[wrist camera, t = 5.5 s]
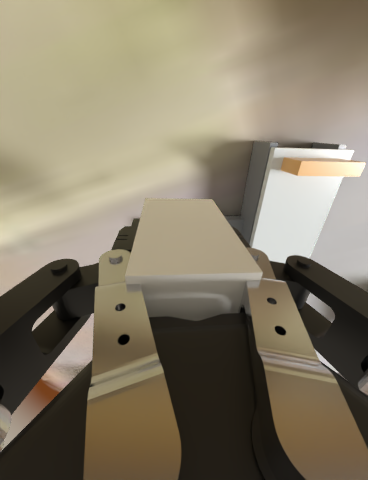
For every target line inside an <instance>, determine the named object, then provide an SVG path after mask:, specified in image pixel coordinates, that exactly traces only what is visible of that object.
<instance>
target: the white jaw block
mask: <svg viewBox="0 0 368 480" xmlns="http://www.w3.org/2000/svg"><path fill="white" fill-rule="evenodd" d="M262 274H263V272H262V270H261V269H260V267H259V266H258V265H257V263H256V262H255V260H254V259H253V257H252V256H251V254H250V253H249V252H248V250H247V249H246V247H245V246H244V244H243V243H242V241H241V240H240V239H239V237H238V236H237V234H236V233H235V231H234V230H233V228H232V227H231V226H230V224H229V223H228V221H227V220H226V218H225V217H224V216H223V214H222V213H221V211H220V210H219V208H218V207H217V205H216V204H215V203H214V201H213V200H212V199H148V198H145V202H144V206H143V210H142V213H141V217H140V221H139V225H138V228H137V232H136V236H135V240H134V243H133V247H132V251H131V255H130V259H129V262H128V266H127V270H126V274H125V281H126V284H140V285H141V289H142V293H143V297H144V301H145V305H146V309H147V313H148V317H163V316H169V317H175V318H181V319H187V320H192V321H199V320H203V319H206V318H210V317H213V316H217V315H220V314H227V313H238V310H239V307H240V303H241V299H242V295H243V291H244V287H245V283H246V281H249V280H261V277H262Z"/></svg>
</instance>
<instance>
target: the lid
mask: <svg viewBox="0 0 368 480" xmlns="http://www.w3.org/2000/svg"><path fill="white" fill-rule="evenodd" d="M353 152H354V150H347V149H313V148H280V147H271V150H270V154H269V159H268V163H267V168H266V172H265V177H264V181H263V186H262V190H261V195H260V199H259V204H258V208H257V213H256V217H255V221H254V226H253V230H252V235H251V239H250V244H249V245H250V247H251V248H255V249H258V250H261V251H262V252H264V253H265V254H266V255H267V256H268V258H269V261H274V262H280V263H285V262H286V259H287V257H289V256H292V255H299V256H303V257H307V258H309V259H310V256H311V254H312V251H313V249H314V247H315V244H316V242H317V239H318V237H319V234H320V232H321V230H322V227H323V225H324V222H325V220H326V217H327V215H328V213H329V210H330V208H331V205H332V203H333V200H334V198H335V196H336V193H337V191H338V188H339V186H340V184H341V181H342V179H343V177H360V175H361V173H362V171H363V168H364V166H365V164H366V162H359V161H353V160H350V159H351V157H352V154H353Z"/></svg>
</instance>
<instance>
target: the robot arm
mask: <svg viewBox="0 0 368 480" xmlns="http://www.w3.org/2000/svg"><path fill="white" fill-rule="evenodd" d="M139 221H140V219H134V220H133V223H132V226H125V227H124V228H122V229H121V230H120V231H119V233H118V236H117V238H116V240H115V242H114V245H113V247H112V249H111V251H108V252H106V253H104V254H103V255H101V257H100V258H99V263H96V264H93V265H89V266H84V267H79V264H78V262H77V261H76V260H73V259H61V260H56V261H53V262H51V263H49V264H47V265H45V266H44V267H42V268H41V269H40V270H38V271H37V272H35V273H34V274H32V275H31V276H29V277H28V278H27V279H25V280H24V281H22V282H21V283H19V284H18V285H16V286H15V287H14V288H12V289H11V290H9V291H8V292H6V293H5V294H3V295H2V296H1V297H0V480H368V293H367V292H366V291H364V290H362V289H361V288H359V287H357V286H356V285H354V284H352V283H351V282H349V281H347V280H345V279H344V278H342V277H340V276H339V275H337V274H335V273H334V272H332V271H330V270H328V269H327V268H325V267H323V266H322V265H320V264H318V263H317V262H315V261H313V260H311V259H309V258H307V257H303V256H299V255H292V256H289V257H287V259H286V262H285V263H280V262H274V261H269V258H268V256H267V255H266V254H265V253H264V252H262V251H261V250H258V249H255V248H251V247H250V245H249V244H248V242H247V241H246V240H245V239H244V237H243V236H242V234H241V233H240V232H239V230H237V229H236V228H234V227H233V226H231V227H232V228H233V230H234V231H235V233H236V234H237V236H238V237H239V239H240V240H241V241H242V243H243V244H244V246H245V247H246V249H247V250H248V252H249V253H250V254H251V256H252V257H253V259H254V260H255V262H256V263H257V265H258V266H259V267H260V269H261V270H262V272H263V274H262V277H261V280H249V281H246V283H245V287H244V291H243V295H242V299H241V303H240V307H239V310H238V313H227V314H220V315H217V316H213V317H210V318H206V319H203V320H199V321H192V320H187V319H181V318H175V317H169V316H163V317H148V313H147V309H146V305H145V301H144V297H143V293H142V289H141V285H140V284H126V281H125V274H126V270H127V266H128V262H129V259H130V255H131V251H132V247H133V243H134V240H135V236H136V232H137V228H138V225H139ZM310 292H311V293H312V294H313V295H315V296H316V297H318V298H319V299H320V300H322V301H323V302H324V303H326V304H327V305H328V306H330V307H331V308H332V310H333V311H334V313H335V320H334V321H333V323H331V322H330V321H329V320H327V319H326V318H325V317H324V316H322V315H321V314H320V313H319V312H317V311H316V310H315V309H314V308H312V307H311V306H310V305H309V304H307V303H306V300H307V298H308V296H309V294H310ZM51 306H53V308H54V311H53V312H52V313H51V314H50V315H49V316H48V317H47V318H46V319H45V320H44V321H43V322H42V323H41V324H40V325H38V326H37V327H36V328H35V329H34V330H33V331H32V327H33V325H34V323H35V322H36V320H37V319H38V318H39V317H40V316H41V315H42V314H43V313H45V312H46V311H47V310H48V309H49V308H50V307H51ZM92 313H94V329H93V356H92V361H91V362H90V363H89V364H88V365H87V366H86V367H85V368H84V369H83V370H82V371H81V372H80V373H79V374H78V375H77V376H76V377H75V378H74V379H73V380H72V381H71V382H70V383H69V384H68V385H67V386H66V387H65V388H64V389H63V390H62V391H61V392H60V393H59V394H58V395H57V396H56V397H55V398H54V399H53V400H52V401H51V402H50V403H49V404H48V405H47V406H46V407H45V408H44V409H43V410H42V411H41V412H40V413H39V414H38V415H37V416H36V417H35V418H34V419H33V420H32V421H31V422H30V423H29V424H28V425H27V426H26V427H25V428H24V429H23V430H22V431H21V432H20V433H19V434H18V435H17V436H16V437H15V438H14V439H13V440H12V441H11V442H10V443H9V444H8V445H7V446H6V447H5V448H4V449H3V450H2V448H3V445H4V439H5V437H6V435H7V433H8V430H9V428H10V424H11V415H12V414H13V412H14V411H15V410H16V409H17V407H18V406H19V405H20V404H21V402H22V401H23V400H24V398H25V397H26V396H27V395H28V393H29V392H30V391H31V390H32V389H33V387H34V386H35V385H36V384H37V382H38V381H39V380H40V379H41V377H42V376H43V375H44V374H45V372H46V371H47V370H48V369H49V367H50V366H51V365H52V364H53V362H54V361H55V360H56V359H57V357H58V356H59V355H60V354H61V352H62V351H63V350H64V349H65V347H66V346H67V345H68V344H69V342H70V341H71V340H72V339H73V337H74V336H75V335H76V334H77V332H78V331H79V330H80V329H81V327H82V326H83V325H84V324H85V323H86V321H87V320H88V319H89V317H90V315H91V314H92ZM314 349H315V350H316V351H318V352H319V353H320V354H321V355H322V356H323V357H324V358H325V359H326V360H327V361H328V362H329V363H330V364H331V365H332V366H333V367H334V368H335V369H336V370H337V371H338V372H339V373H340V374H341V375H342V376H343V377H344V378H345V379H344V378H343V377H341V376H340V375H339V374H337V373H336V372H334V371H333V370H332V369H330V368H329V367H327V366H326V365H325V364H323V363H322V362H321V361H319V359H318V357H317V354H316V352H315V350H314ZM348 381H349V382H348ZM1 450H2V451H1Z"/></svg>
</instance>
